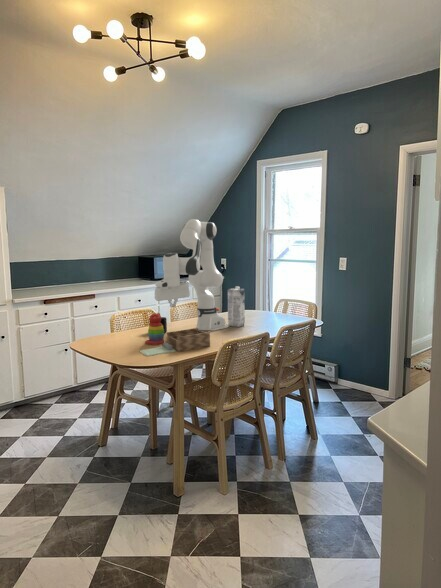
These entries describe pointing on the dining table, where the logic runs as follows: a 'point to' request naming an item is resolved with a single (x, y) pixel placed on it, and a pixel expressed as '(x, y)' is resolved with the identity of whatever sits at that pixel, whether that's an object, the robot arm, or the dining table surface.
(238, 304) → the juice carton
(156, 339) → the stacking bear
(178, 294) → the robot arm
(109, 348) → the dining table surface
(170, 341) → the walnut box
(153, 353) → the cover plate
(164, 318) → the black flat block
